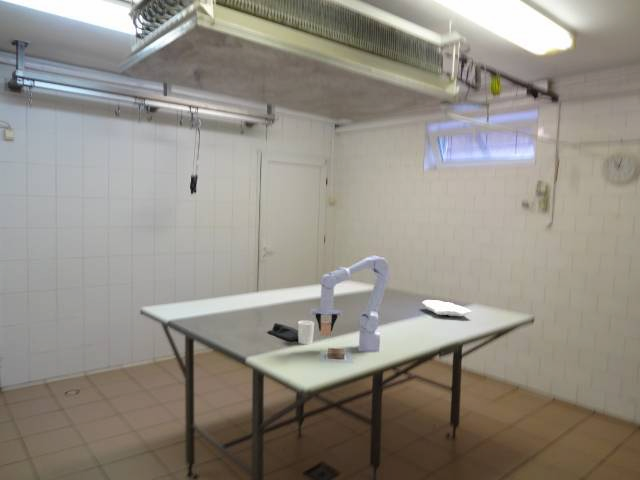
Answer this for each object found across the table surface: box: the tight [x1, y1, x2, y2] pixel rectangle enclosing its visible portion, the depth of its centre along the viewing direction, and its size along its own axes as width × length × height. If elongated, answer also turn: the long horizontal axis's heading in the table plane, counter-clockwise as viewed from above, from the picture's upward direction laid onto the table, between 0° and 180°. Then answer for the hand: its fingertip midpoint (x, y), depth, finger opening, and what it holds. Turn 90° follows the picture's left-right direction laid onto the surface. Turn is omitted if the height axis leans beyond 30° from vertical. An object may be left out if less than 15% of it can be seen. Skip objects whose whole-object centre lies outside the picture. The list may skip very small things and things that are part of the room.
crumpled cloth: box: [421, 299, 473, 317], centre depth 294 cm, size 24×35×9 cm
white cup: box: [297, 319, 315, 345], centre depth 223 cm, size 8×8×10 cm
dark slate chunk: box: [267, 322, 298, 342], centre depth 235 cm, size 15×22×5 cm
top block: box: [320, 321, 332, 336], centre depth 211 cm, size 4×4×5 cm
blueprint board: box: [319, 350, 354, 364], centre depth 204 cm, size 14×14×1 cm
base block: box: [327, 347, 345, 359], centre depth 204 cm, size 7×7×2 cm
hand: (325, 330), depth 211 cm, fingers closed on top block, 4 cm apart
